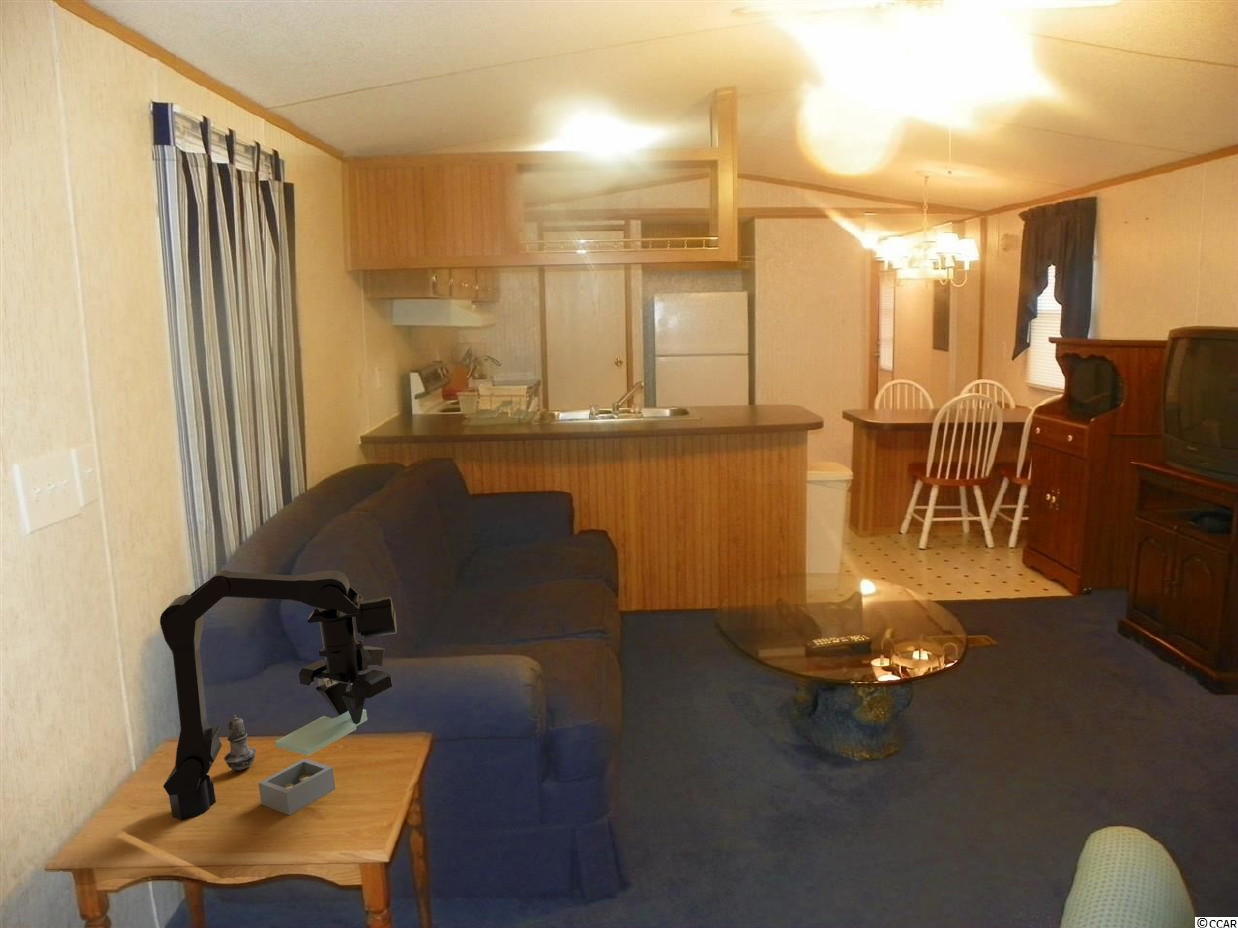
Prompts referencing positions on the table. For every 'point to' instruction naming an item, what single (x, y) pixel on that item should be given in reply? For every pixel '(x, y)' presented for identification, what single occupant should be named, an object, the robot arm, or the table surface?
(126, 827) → the table surface
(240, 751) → the grey upright turned figure
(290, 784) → the part
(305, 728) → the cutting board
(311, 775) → the part
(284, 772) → the tub
